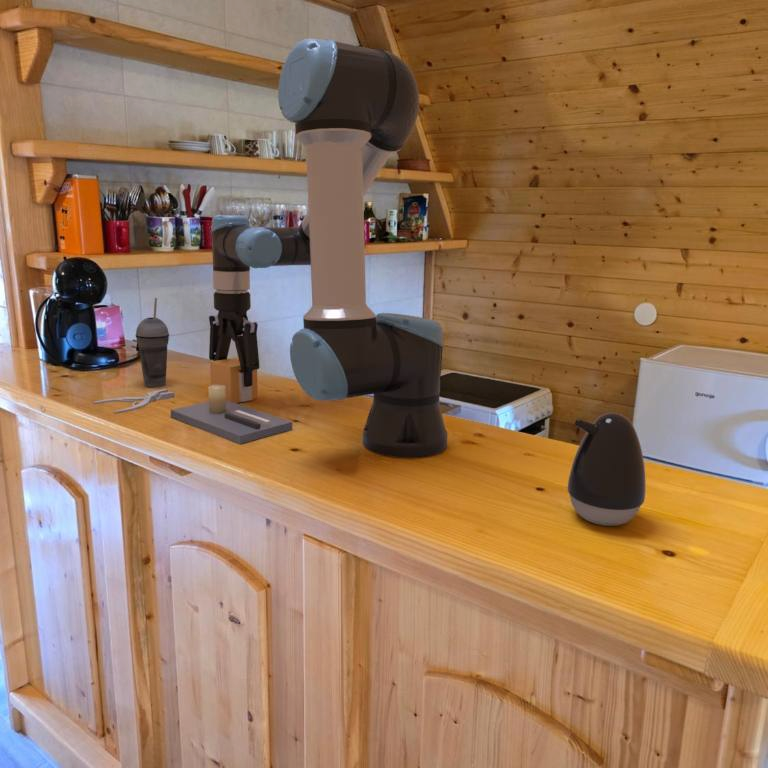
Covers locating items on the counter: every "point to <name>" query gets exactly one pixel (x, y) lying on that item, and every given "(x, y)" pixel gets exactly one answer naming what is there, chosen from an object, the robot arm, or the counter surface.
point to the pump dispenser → (608, 471)
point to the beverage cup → (153, 349)
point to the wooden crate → (230, 377)
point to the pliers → (146, 400)
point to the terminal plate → (230, 418)
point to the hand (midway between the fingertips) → (234, 396)
